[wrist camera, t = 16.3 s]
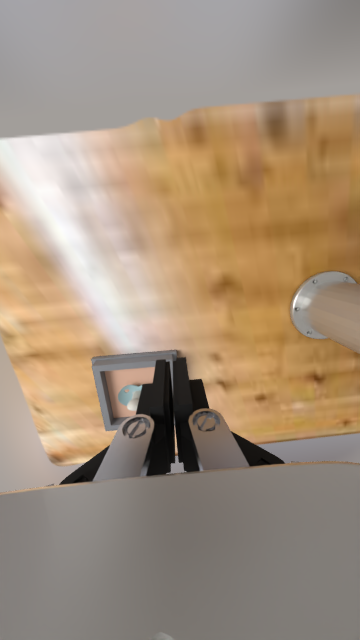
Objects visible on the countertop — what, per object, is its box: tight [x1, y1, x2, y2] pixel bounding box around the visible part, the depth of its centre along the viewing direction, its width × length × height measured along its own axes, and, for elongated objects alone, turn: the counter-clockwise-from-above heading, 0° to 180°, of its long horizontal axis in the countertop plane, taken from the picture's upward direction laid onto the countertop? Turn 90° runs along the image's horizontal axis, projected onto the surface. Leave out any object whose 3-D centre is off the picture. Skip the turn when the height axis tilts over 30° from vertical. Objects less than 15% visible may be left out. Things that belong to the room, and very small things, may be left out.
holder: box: [91, 350, 177, 431], centre depth 41 cm, size 16×15×3 cm
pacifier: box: [118, 385, 142, 411], centre depth 39 cm, size 7×6×6 cm
